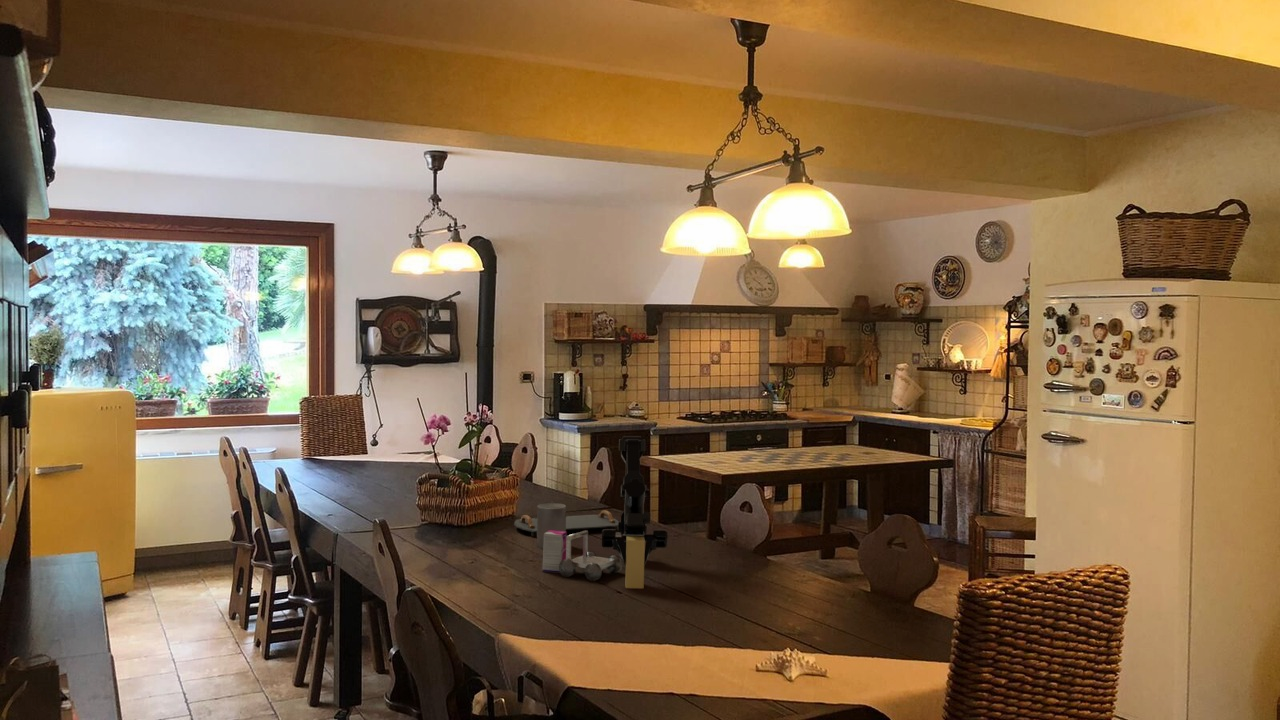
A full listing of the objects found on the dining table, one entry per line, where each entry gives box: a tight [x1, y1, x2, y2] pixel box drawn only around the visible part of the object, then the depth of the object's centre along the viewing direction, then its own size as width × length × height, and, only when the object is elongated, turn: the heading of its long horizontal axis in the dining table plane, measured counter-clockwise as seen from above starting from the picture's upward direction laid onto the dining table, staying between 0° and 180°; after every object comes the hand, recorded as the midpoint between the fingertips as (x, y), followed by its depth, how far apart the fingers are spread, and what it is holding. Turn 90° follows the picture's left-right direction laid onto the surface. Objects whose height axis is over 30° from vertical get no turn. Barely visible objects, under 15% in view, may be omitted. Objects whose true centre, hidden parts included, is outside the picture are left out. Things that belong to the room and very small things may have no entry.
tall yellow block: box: [624, 536, 646, 589], centre depth 270 cm, size 5×5×14 cm
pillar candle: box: [536, 502, 567, 550], centre depth 320 cm, size 10×10×15 cm
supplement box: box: [542, 530, 568, 574], centre depth 287 cm, size 6×6×12 cm
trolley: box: [559, 529, 624, 582], centre depth 283 cm, size 13×14×12 cm
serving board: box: [513, 509, 620, 538], centre depth 351 cm, size 39×23×6 cm, turn 114°
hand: (634, 564), depth 269 cm, fingers closed on tall yellow block, 5 cm apart
